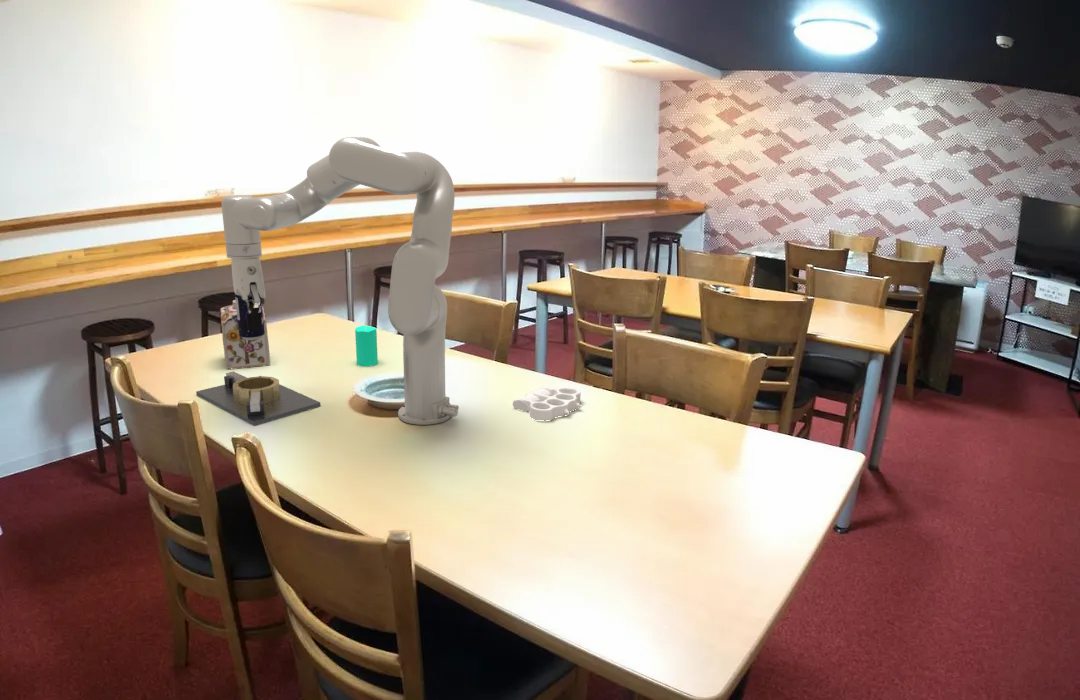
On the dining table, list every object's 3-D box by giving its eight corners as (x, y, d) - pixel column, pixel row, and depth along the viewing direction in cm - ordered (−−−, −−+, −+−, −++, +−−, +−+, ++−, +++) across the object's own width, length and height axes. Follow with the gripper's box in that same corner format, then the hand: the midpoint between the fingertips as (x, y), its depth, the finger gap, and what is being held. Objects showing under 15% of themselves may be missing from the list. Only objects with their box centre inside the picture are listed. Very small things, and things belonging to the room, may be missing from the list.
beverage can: (247, 342, 164) (243, 292, 160) (234, 337, 167) (229, 288, 163) (269, 337, 168) (265, 288, 164) (256, 333, 171) (251, 285, 168)
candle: (354, 361, 204) (352, 321, 200) (375, 359, 206) (373, 319, 203) (358, 367, 199) (356, 326, 195) (380, 365, 201) (378, 324, 198)
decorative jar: (224, 358, 203) (218, 297, 198) (267, 354, 208) (262, 295, 203) (225, 370, 193) (219, 306, 188) (270, 366, 198) (265, 303, 193)
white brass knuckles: (544, 393, 184) (593, 405, 177) (504, 414, 169) (556, 428, 162) (544, 381, 183) (594, 392, 176) (505, 401, 168) (557, 414, 161)
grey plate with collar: (320, 406, 170) (319, 388, 168) (254, 425, 157) (252, 407, 156) (260, 379, 187) (259, 363, 185) (196, 395, 174) (194, 378, 173)
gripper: (272, 254, 157) (278, 332, 162) (250, 244, 170) (257, 316, 175) (236, 256, 153) (244, 336, 158) (217, 246, 166) (225, 320, 171)
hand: (251, 325), depth 166 cm, fingers closed on beverage can, 5 cm apart
